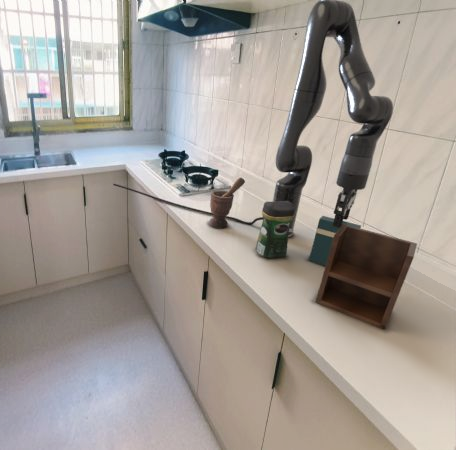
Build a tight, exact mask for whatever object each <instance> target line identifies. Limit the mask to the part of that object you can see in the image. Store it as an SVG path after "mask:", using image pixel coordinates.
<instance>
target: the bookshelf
mask: <svg viewBox="0 0 456 450" xmlns="http://www.w3.org/2000/svg"><path fill="white" fill-rule="evenodd" d="M417 245H418V243H416V242H413V241H409V240H405V239H401V238H398V237H394V236H391V235H387V234H383V233H378V232H375V231H371V230H367V229H364V228H356V227H352V226H349V225H345V224H343V225H342V226H341V228H340V229H339V230H338V231H337V232H336V234H335V235H334V238H333V242H332V245H331V249H330V252H329V256H328V259H327V263H326V266H324V270H323V274H322V277H321V281H320V284H319V288H318V292H317V296H316V299H315V303H317V304H319V305H321V306H324V307H327V308H329V309H331V310H334V311H337V312H339V313H341V314H344V315H347V316H349V317H351V318H354V319H356V320H359V321H362V322H364V323H367V324H368V325H371V326H374V327H377V328H379V329H381V330H384V331H385V330H386V327H387V325H388V324H389V323H388V322H389V320H390V317H391V315H392V312H393V310H394V308H395V305H396V303H397V300H398V298H399V295H400V293H401V290H402V288H403V286H404V282H405V280H406V278H407V275H408V273H409V270H410V268H411V265H412V262H413V260H414V258H415V254H416V250H417Z"/></svg>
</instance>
